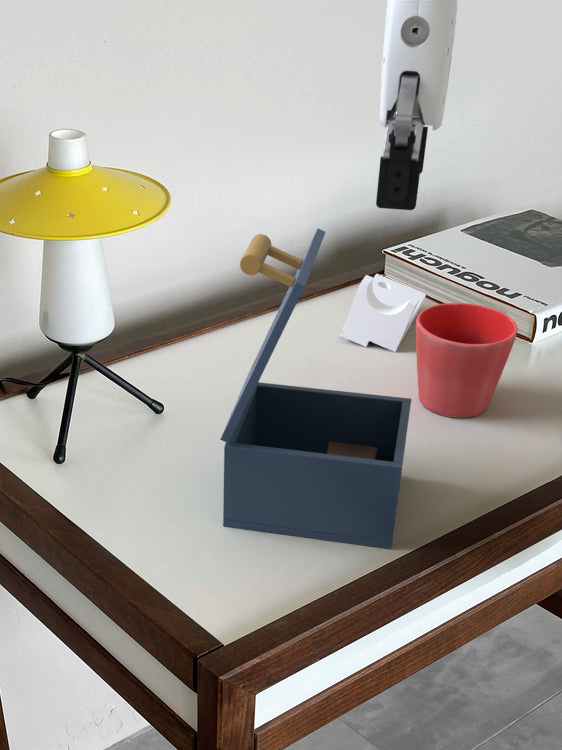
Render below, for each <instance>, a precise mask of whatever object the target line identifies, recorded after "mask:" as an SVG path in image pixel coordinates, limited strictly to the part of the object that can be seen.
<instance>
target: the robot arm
mask: <svg viewBox="0 0 562 750" xmlns="http://www.w3.org/2000/svg"><path fill="white" fill-rule="evenodd" d="M458 2H459V1H458V0H387V2H386V13H385V21H384V22H385V23H384V24H385V25H384V34H383V35H384V36H383V47H382V57H381V59H382V61H381V77H380V98H379V99H380V100H379V101H380V104H379V106H380V107H379V123H380V124H381V125H382V126H383V127H384V128H385V129H386V132H385V139H384V146H383V154H382V155H381V156H380V160H379V170H378V177H377V188H376V200H375V206H376V207H377V208H378V209H388V210H399V211H400V210H402V211H413V210H415V209H416V207H417V202H418V201H417V200H418V192H419V183H420V175H421V174H422V173H423V169H424V163H425V156H426V155H425V154H426V146H427V139H428V138H427V137H428V130H429V127H430V126H431V127H432V131H437V130H438V129H440V128H441V127H442V125H443V120H444V115H445V114H444V113H445V106H446V100H447V94H448V87H449V78H450V71H451V65H452V57H453V55H452V54H453V48H454V42H455V35H456V34H455V33H456V24H457V14H458V13H457V12H458ZM428 126H429V127H428Z"/></svg>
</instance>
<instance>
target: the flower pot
mask: <svg viewBox="0 0 562 750" xmlns="http://www.w3.org/2000/svg"><path fill="white" fill-rule="evenodd" d="M518 328H519V327H518V325H517V323H516V321H515V320H514V319H513V317H511V316H509V315H508V314H506V313H505V312H503V311H501V310H499V309H497V308H492V307H489V306H486V305H481V304H477V303H468V302H467V303H466V302H447V303H445V302H444V303H439V304H435V305H431V306H429V307H426V308H424V309H422V310H421V311H419V312H418V314H417V316H416V318H415V345H416V346H415V348H416V350H415V351H416V373H417V375H416V377H417V391H418V400H419V402H420V404H421V405H422V406H423V407H424V408H426V409H427V410H428V411H430V412H433V413H436V414H439V415H441V416H444V417H449V418H455V419H457V418H458V419H459V418H460V419H461V418H462V419H464V418H465V419H467V418H472V417H476V416H479V415H480V414H483V413H484V412H485V411H487V409H488V408H489V406H490V404H491V401H492V399H493V396H494V394H495V391H496V389H497V387H498V385H499V381H500V380H501V376H502V374H503V372H504V369H505V367H506V365H507V362H508V360H509V357H510V354H511V352H512V349H513V346H514V344H515V341H516V339H517V336H518V332H519V331H518V330H519V329H518Z"/></svg>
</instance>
